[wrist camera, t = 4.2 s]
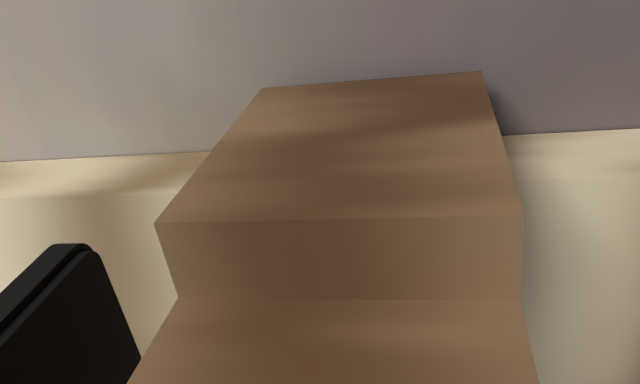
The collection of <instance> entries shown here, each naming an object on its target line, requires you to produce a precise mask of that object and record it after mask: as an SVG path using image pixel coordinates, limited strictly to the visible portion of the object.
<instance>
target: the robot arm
mask: <svg viewBox="0 0 640 384" xmlns="http://www.w3.org/2000/svg"><path fill="white" fill-rule="evenodd" d="M140 360H141V355H140V353H139V350H138V348H137V345H136V343H135V340H134V338H133V335H132V333H131V330H130V328H129V326H128V323H127V321H126V318H125V316H124V313H123V311H122V308H121V306H120V303H119V301H118V298H117V296H116V293H115V291H114V289H113V286H112V284H111V281H110V279H109V276H108V274H107V271H106V269H105V266H104V264H103V261H102V259H101V257H100V255H99V254H98V253H97V252H95V251H93V250H92V248H91V247H90V246H89V245H88V244H84V243H59V244H53V245H51V246H50V247H48V248H47V249H46V250H45V251H44V252H43V253H42V254H41V255H40V256H38V257H37V258H36V259H35V260H34V261H33V262H32V263H31V264H30V265H29V266H28V267H27V268H26V269H25V270H24V271H23V272H22V273H21V274H20V275H19V276H18V277H16V278H15V279H14V280H13V281H12V282H11V283H10V284H9V285H8V286H7V287H6V288H5V289H4V290H3V291H2V292H1V293H0V384H127V382H128V380H129V379H130V377H131V375H132V374H133V372H134V370H135V369H136V367H137V365H138V364H139V362H140Z"/></svg>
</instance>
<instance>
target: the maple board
mask: <svg viewBox="0 0 640 384" xmlns="http://www.w3.org/2000/svg"><path fill="white" fill-rule="evenodd" d="M501 137H502V140H503V143H504V146H505V150H506V153H507V156H508V159H509V163H510V166H511V169H512V172H513V176H514V179H515V182H516V185H517V189H518V192H519V195H520V198H521V201H522V205H523V208H524V211H525V214H526V217H525V233H524V249H523V265H522V282H521V298H520V302H521V306H522V310H523V315H524V319H525V323H526V328H527V332H528V336H529V341H530V345H531V349H532V354H533V358H534V362H535V367H536V371H537V375H538V379H539V384H640V129H623V130H604V131H586V132H567V133H548V134H529V135H510V136H501ZM210 152H211V151H207V152H188V153H170V154H151V155H132V156H113V157H94V158H75V159H56V160H37V161H18V162H0V293H1V292H2V291H3V290H4V289H5V288H6V287H7V286H8V285H9V284H10V283H11V282H12V281H13V280H14V279H15V278H16V277H18V276H19V275H20V274H21V273H22V272H23V271H24V270H25V269H26V268H27V267H28V266H29V265H30V264H31V263H32V262H33V261H34V260H35V259H36V258H37V257H38V256H40V255H41V254H42V253H43V252H44V251H45V250H46V249H47V248H48V247H50V246H51V245H53V244H59V243H84V244H88V245H89V246H90V247H91V248H92V250H93V251H95V252H97V253H98V254H99V255H100V257H101V259H102V261H103V264H104V266H105V269H106V271H107V274H108V276H109V279H110V281H111V284H112V286H113V289H114V291H115V293H116V296H117V298H118V301H119V303H120V306H121V308H122V311H123V313H124V316H125V318H126V321H127V323H128V326H129V328H130V330H131V333H132V335H133V338H134V340H135V343H136V345H137V348H138V350H139V353H140V355H141V359H142V357H143V355H144V354H145V352H146V350H147V349H148V347H149V345H150V344H151V342H152V340H153V339H154V337H155V335H156V334H157V332H158V330H159V329H160V327H161V325H162V324H163V322H164V320H165V319H166V317H167V315H168V314H169V312H170V310H171V309H172V307H173V305H174V304H175V302H176V300H177V299H178V295H177V292H176V289H175V286H174V283H173V280H172V277H171V274H170V271H169V268H168V265H167V262H166V259H165V256H164V254H163V251H162V248H161V245H160V242H159V239H158V236H157V233H156V230H155V227H154V224H153V223H154V222H155V221H156V219H157V218H158V217H159V216H160V214H161V213H162V212H163V211H164V209H165V208H166V207H167V206H168V204H169V203H170V202H171V201H172V199H173V198H174V197H175V196H176V194H177V193H178V192H179V191H180V190H181V188H182V187H183V186H184V185H185V183H186V182H187V181H188V180H189V178H190V177H191V176H192V175H193V173H194V172H195V171H196V170H197V168H198V167H199V166H200V165H201V163H202V162H203V161H204V160H205V159H206V157H207V156H208V155H209V154H210Z"/></svg>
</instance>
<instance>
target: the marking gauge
mask: <svg viewBox="0 0 640 384" xmlns="http://www.w3.org/2000/svg"><path fill="white" fill-rule="evenodd" d="M525 217H526V214H525V211H524V208H523V205H522V201H521V198H520V195H519V192H518V189H517V185H516V182H515V179H514V176H513V172H512V169H511V166H510V163H509V159H508V156H507V153H506V150H505V146H504V143H503V140H502V137H501V134H500V130H499V127H498V124H497V121H496V117H495V114H494V111H493V108H492V104H491V101H490V98H489V95H488V92H487V88H486V85H485V82H484V79H483V75H482V72H481V71H475V72H462V73H449V74H437V75H424V76H411V77H398V78H386V79H373V80H360V81H347V82H335V83H322V84H309V85H296V86H284V87H271V88H262V89H261V90H260V92H259V93H258V94H257V95H256V97H255V98H254V99H253V100H252V101H251V103H250V104H249V105H248V106H247V108H246V109H245V110H244V111H243V113H242V114H241V115H240V116H239V118H238V119H237V120H236V121H235V123H234V124H233V125H232V126H231V128H230V129H229V130H228V131H227V132H226V134H225V135H224V136H223V137H222V139H221V140H220V141H219V142H218V144H217V145H216V146H215V147H214V149H213V150H212V151H211V152H210V154H209V155H208V156H207V157H206V159H205V160H204V161H203V162H202V163H201V165H200V166H199V167H198V168H197V170H196V171H195V172H194V173H193V175H192V176H191V177H190V178H189V180H188V181H187V182H186V183H185V185H184V186H183V187H182V188H181V190H180V191H179V192H178V193H177V194H176V196H175V197H174V198H173V199H172V201H171V202H170V203H169V204H168V206H167V207H166V208H165V209H164V211H163V212H162V213H161V214H160V216H159V217H158V218H157V219H156V221H155V222H154V223H153V224H154V227H155V230H156V233H157V236H158V239H159V242H160V245H161V248H162V251H163V254H164V256H165V259H166V262H167V265H168V268H169V271H170V274H171V277H172V280H173V283H174V286H175V289H176V292H177V295H178V299H177V300H176V302H175V304H174V305H173V307H172V309H171V310H170V312H169V314H168V315H167V317H166V319H165V320H164V322H163V324H162V325H161V327H160V329H159V330H158V332H157V334H156V335H155V337H154V339H153V340H152V342H151V344H150V345H149V347H148V349H147V350H146V352H145V354H144V355H143V357H142V359H141V360H140V362H139V364H138V365H137V367H136V369H135V370H134V372H133V374H132V375H131V377H130V379H129V380H128V382H127V384H539V379H538V375H537V371H536V367H535V362H534V358H533V354H532V349H531V345H530V341H529V336H528V332H527V328H526V323H525V319H524V315H523V310H522V306H521V302H520V298H521V282H522V265H523V249H524V233H525Z"/></svg>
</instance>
